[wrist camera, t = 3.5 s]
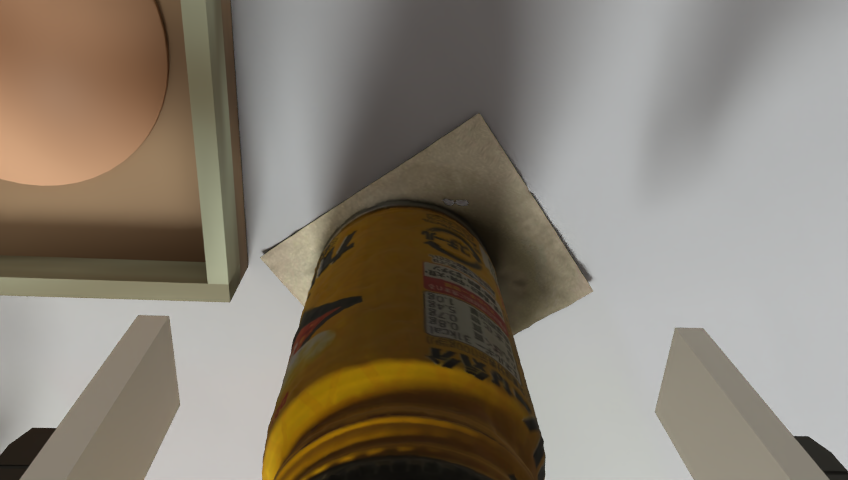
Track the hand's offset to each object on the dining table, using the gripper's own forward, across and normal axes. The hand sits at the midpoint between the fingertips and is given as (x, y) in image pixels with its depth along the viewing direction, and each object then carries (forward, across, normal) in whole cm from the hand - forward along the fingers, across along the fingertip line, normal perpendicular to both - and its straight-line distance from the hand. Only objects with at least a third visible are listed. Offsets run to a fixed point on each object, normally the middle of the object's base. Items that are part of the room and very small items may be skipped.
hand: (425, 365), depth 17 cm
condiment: (+5, 0, 0) cm, 5 cm away
